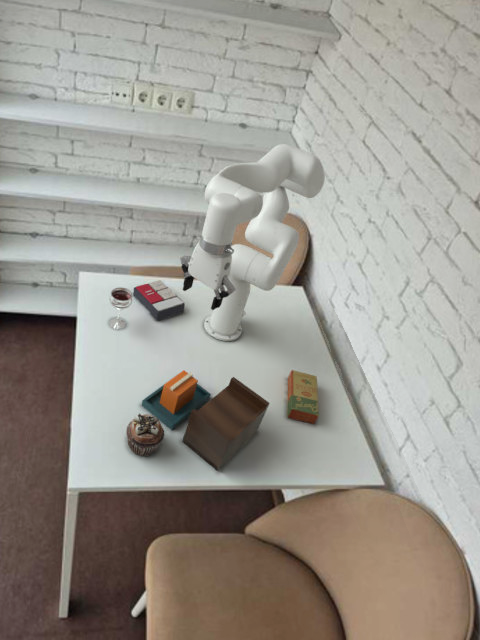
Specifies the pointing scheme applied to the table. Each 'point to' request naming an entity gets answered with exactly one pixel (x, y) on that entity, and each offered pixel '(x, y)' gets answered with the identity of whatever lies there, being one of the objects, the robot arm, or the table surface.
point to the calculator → (159, 300)
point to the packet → (178, 391)
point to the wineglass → (120, 304)
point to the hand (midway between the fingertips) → (200, 298)
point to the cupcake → (144, 434)
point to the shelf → (225, 423)
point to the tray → (175, 419)
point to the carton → (302, 397)
